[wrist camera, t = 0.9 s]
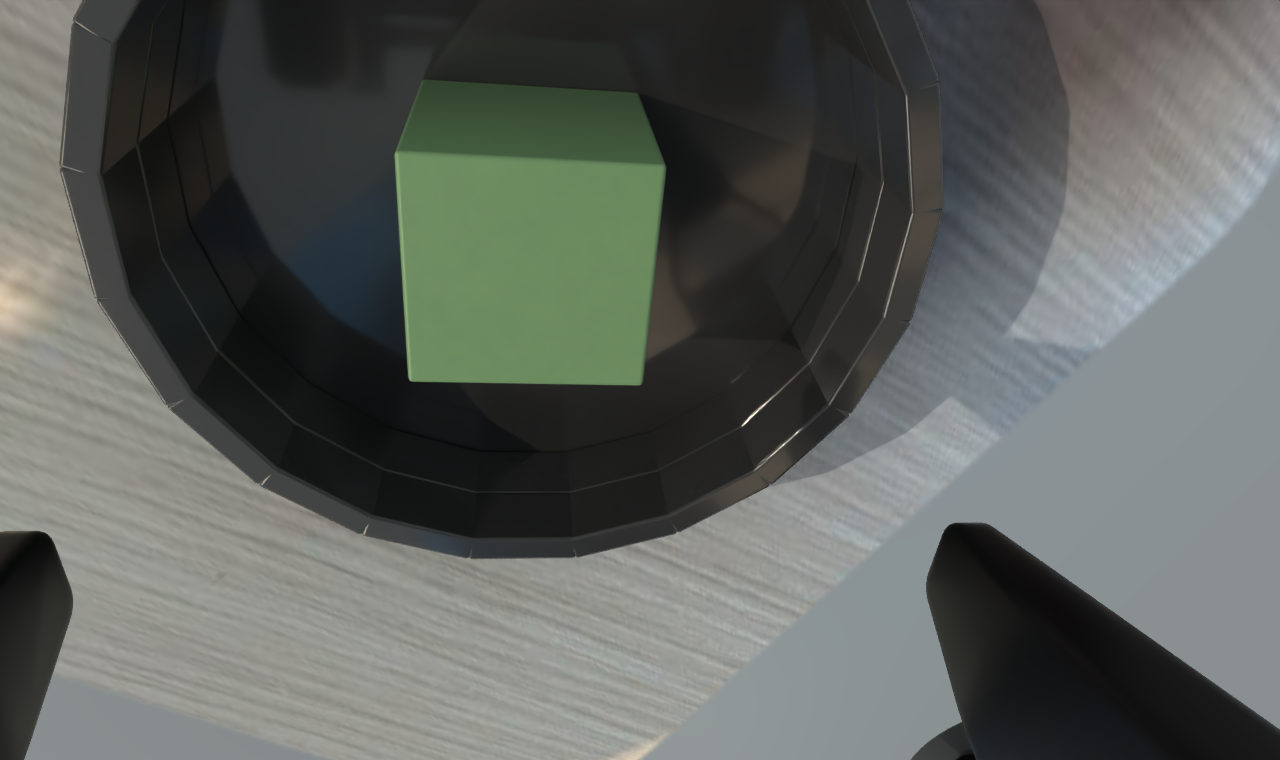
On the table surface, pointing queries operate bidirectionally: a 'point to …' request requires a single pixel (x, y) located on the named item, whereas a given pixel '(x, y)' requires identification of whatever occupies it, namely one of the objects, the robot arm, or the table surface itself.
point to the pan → (371, 261)
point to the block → (527, 234)
